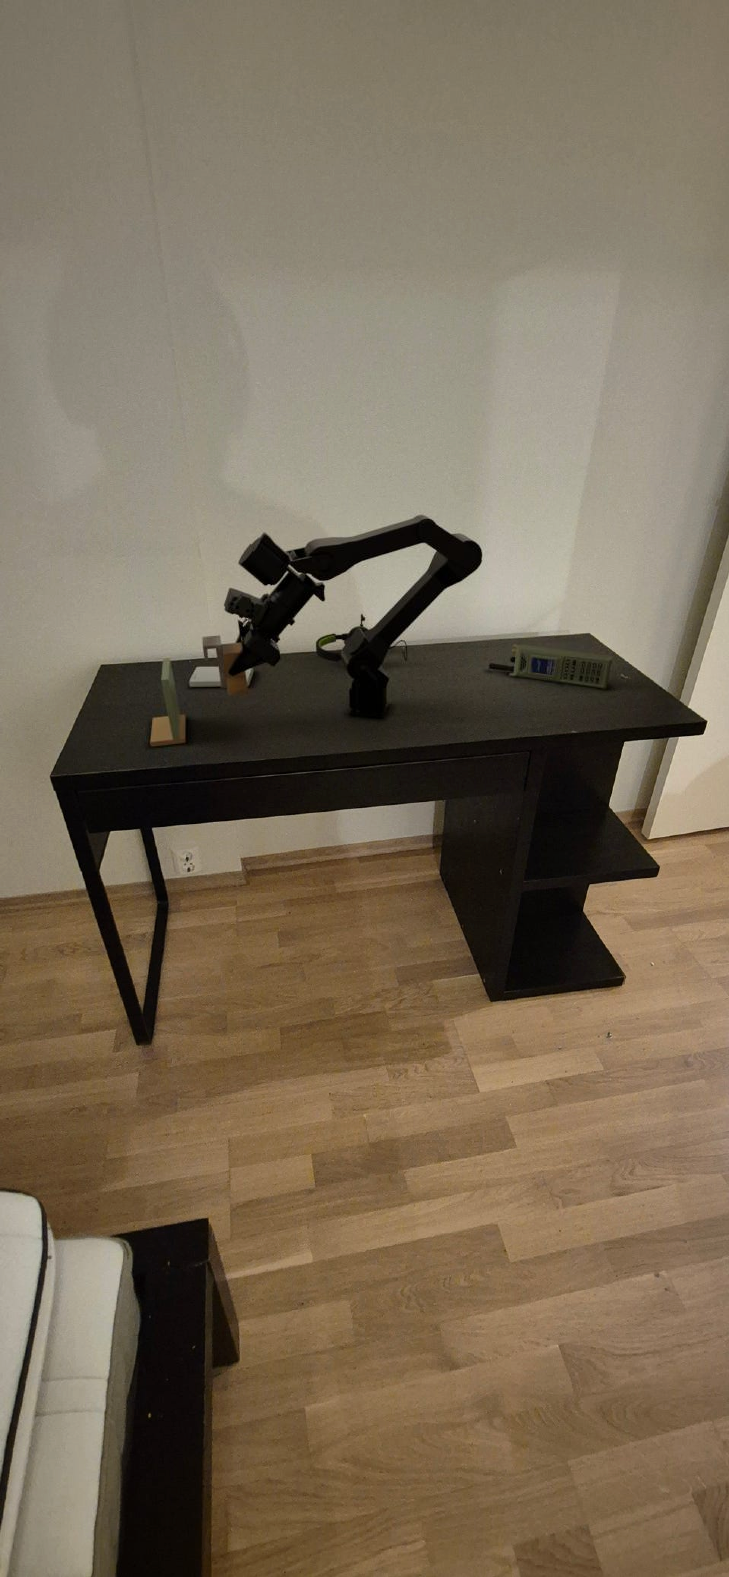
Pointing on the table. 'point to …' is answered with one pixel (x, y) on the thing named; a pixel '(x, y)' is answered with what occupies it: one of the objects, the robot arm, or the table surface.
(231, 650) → the lidded tan box
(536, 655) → the handheld radio
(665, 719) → the table surface
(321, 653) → the headphones
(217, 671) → the hard drive
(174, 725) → the door panel
